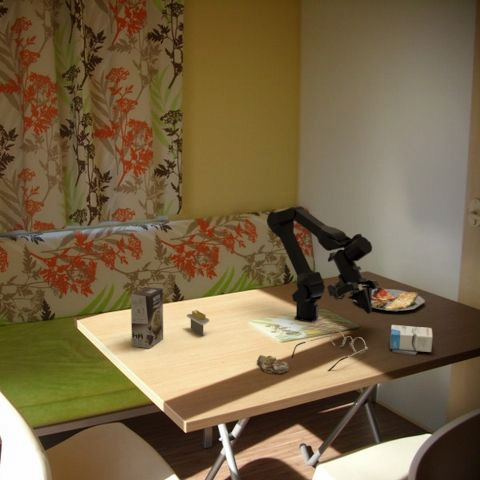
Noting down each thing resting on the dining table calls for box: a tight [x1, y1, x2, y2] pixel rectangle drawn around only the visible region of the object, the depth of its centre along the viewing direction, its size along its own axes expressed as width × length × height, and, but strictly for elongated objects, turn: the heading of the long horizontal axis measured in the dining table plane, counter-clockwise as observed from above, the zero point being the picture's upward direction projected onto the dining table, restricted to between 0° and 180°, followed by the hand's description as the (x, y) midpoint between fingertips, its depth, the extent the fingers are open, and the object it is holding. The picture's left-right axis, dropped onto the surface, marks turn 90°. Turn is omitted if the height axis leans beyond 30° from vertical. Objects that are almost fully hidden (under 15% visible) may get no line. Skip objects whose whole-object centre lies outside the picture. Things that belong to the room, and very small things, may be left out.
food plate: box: [353, 286, 426, 313], centre depth 250 cm, size 25×23×4 cm
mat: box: [392, 349, 419, 356], centre depth 207 cm, size 7×10×1 cm, turn 155°
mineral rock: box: [256, 355, 290, 375], centre depth 192 cm, size 11×4×8 cm
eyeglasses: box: [291, 330, 369, 372], centre depth 200 cm, size 16×19×5 cm
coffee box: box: [130, 286, 164, 349], centre depth 208 cm, size 9×6×16 cm
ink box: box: [389, 324, 434, 353], centre depth 206 cm, size 8×5×12 cm
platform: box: [186, 309, 210, 337], centre depth 219 cm, size 12×18×7 cm, turn 32°
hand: (369, 313), depth 212 cm, fingers closed
